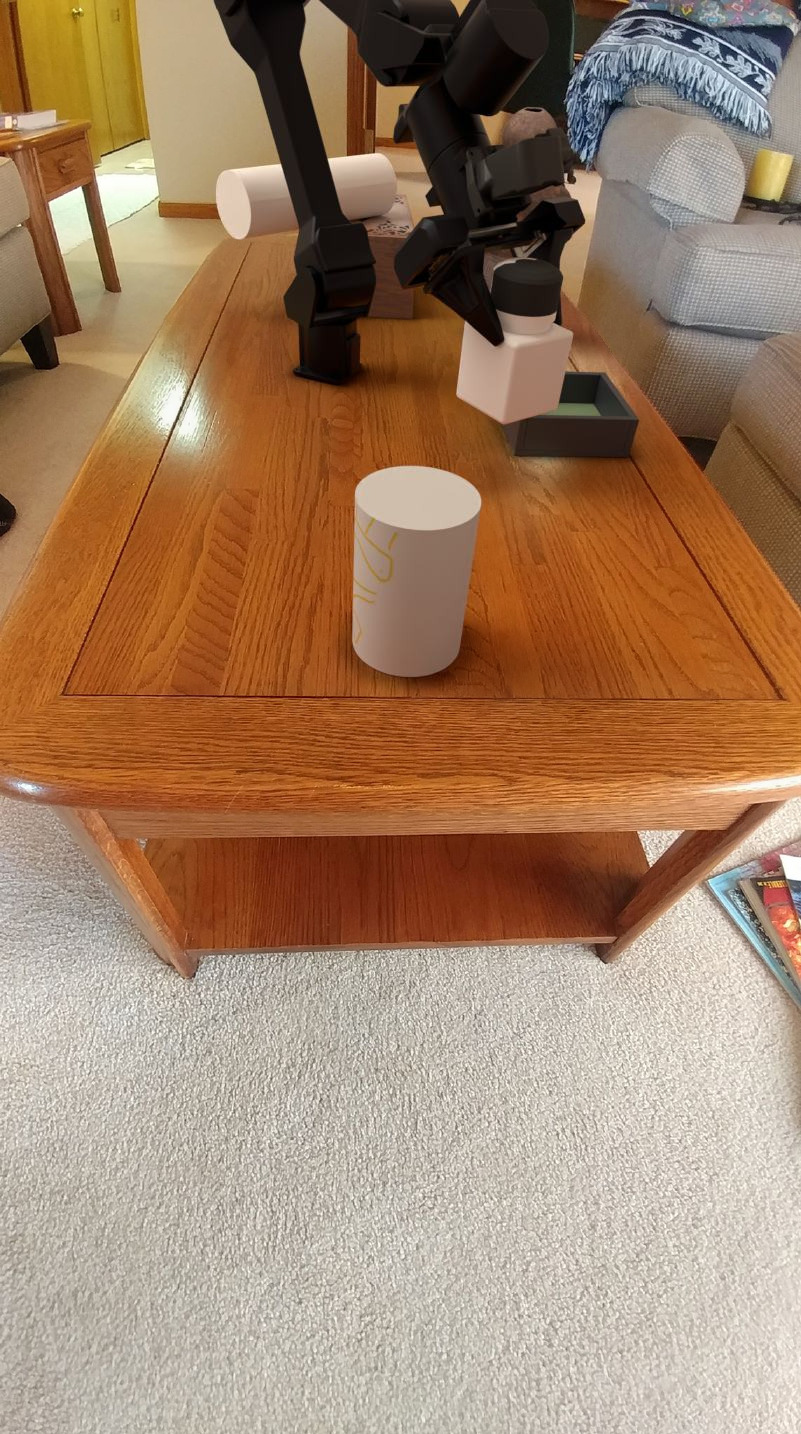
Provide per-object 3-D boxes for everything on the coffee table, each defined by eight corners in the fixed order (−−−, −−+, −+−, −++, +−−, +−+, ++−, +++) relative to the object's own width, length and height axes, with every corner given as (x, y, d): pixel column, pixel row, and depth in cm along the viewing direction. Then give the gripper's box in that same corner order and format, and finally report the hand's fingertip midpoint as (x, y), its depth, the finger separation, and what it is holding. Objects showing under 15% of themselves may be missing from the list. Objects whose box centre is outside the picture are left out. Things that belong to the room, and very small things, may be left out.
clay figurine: (540, 326, 109) (579, 105, 91) (558, 351, 102) (604, 117, 84) (452, 324, 107) (475, 98, 89) (464, 349, 100) (491, 111, 83)
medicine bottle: (558, 410, 72) (589, 270, 63) (503, 426, 69) (527, 280, 60) (508, 383, 76) (531, 247, 67) (454, 397, 73) (470, 256, 64)
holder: (514, 455, 79) (520, 417, 76) (493, 405, 88) (498, 369, 85) (628, 457, 81) (639, 419, 78) (596, 407, 90) (605, 372, 87)
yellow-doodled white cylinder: (350, 607, 59) (352, 464, 51) (452, 607, 60) (471, 466, 52) (354, 677, 54) (357, 529, 45) (467, 676, 54) (491, 530, 46)
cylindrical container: (256, 236, 93) (400, 212, 106) (241, 165, 89) (392, 149, 102) (225, 241, 97) (366, 217, 110) (209, 174, 93) (358, 157, 106)
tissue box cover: (412, 318, 108) (417, 238, 101) (310, 314, 107) (308, 232, 99) (402, 266, 126) (405, 194, 119) (315, 261, 125) (313, 189, 117)
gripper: (429, 85, 53) (515, 302, 55) (595, 80, 62) (663, 267, 65) (357, 193, 63) (433, 374, 65) (510, 175, 72) (572, 334, 74)
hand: (529, 335), depth 67 cm, fingers closed on medicine bottle, 7 cm apart
